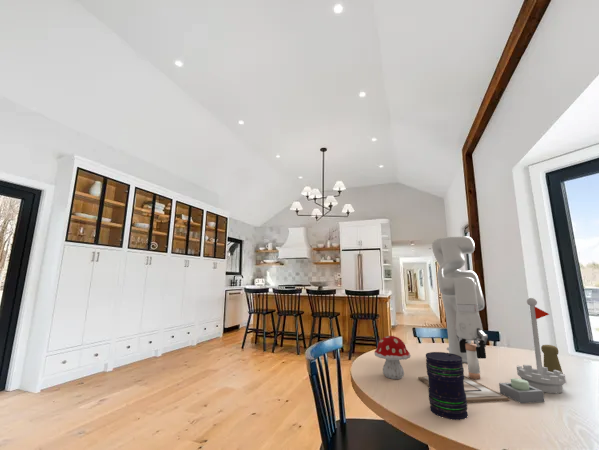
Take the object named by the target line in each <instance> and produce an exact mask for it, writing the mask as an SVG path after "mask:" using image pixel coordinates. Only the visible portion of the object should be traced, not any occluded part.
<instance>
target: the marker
mask: <svg viewBox="0 0 599 450" xmlns="http://www.w3.org/2000/svg"><path fill="white" fill-rule="evenodd" d="M465 346H466V353H467V363H466V364H467V368H468V369H467V370H468V378H470V379H472V380H481V379H482V378H481V370H480V360H479V358H477V353H476V347H477V345H476V343H472V342H471V343H466V344H465Z"/></svg>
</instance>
